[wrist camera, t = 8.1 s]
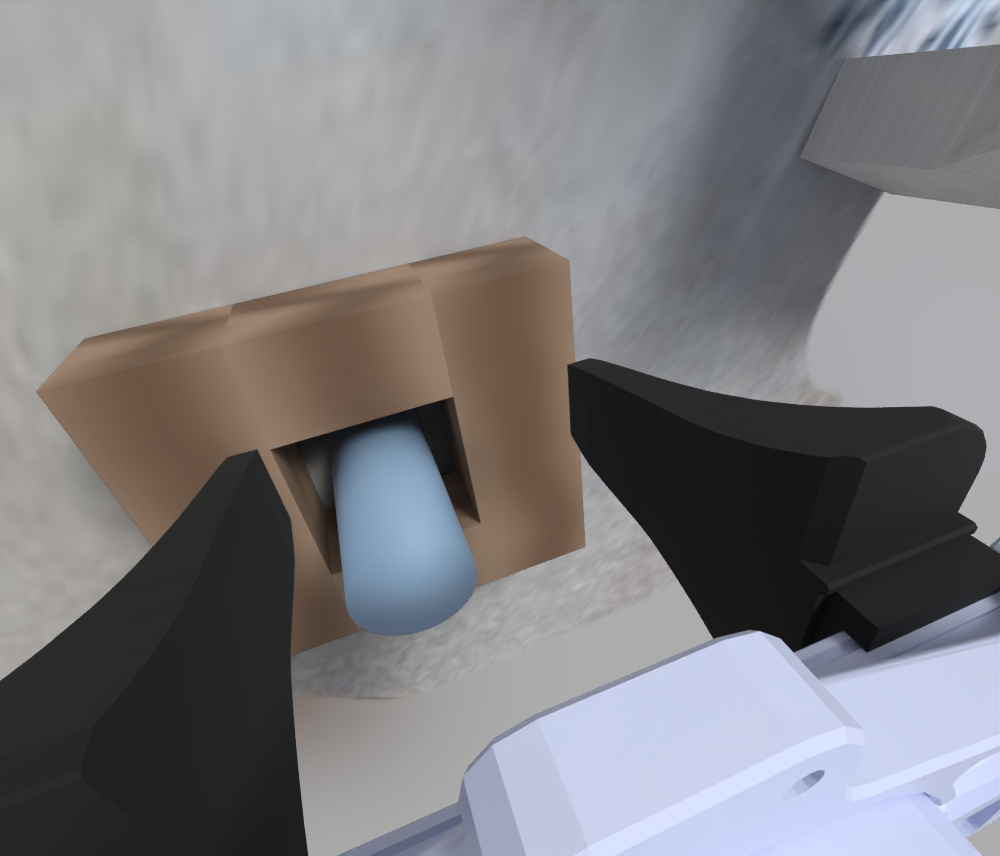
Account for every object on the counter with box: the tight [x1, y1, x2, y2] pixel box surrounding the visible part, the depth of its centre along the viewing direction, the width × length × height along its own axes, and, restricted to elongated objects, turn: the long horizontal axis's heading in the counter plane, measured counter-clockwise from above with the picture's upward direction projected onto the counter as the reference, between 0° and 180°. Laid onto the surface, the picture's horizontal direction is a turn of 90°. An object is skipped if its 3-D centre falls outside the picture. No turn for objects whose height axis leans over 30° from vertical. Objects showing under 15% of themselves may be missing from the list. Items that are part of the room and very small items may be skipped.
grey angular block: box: [799, 45, 1000, 209], centre depth 19 cm, size 4×7×10 cm, turn 76°
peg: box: [328, 409, 478, 635], centre depth 19 cm, size 4×4×9 cm
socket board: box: [36, 237, 585, 656], centre depth 21 cm, size 16×14×4 cm
